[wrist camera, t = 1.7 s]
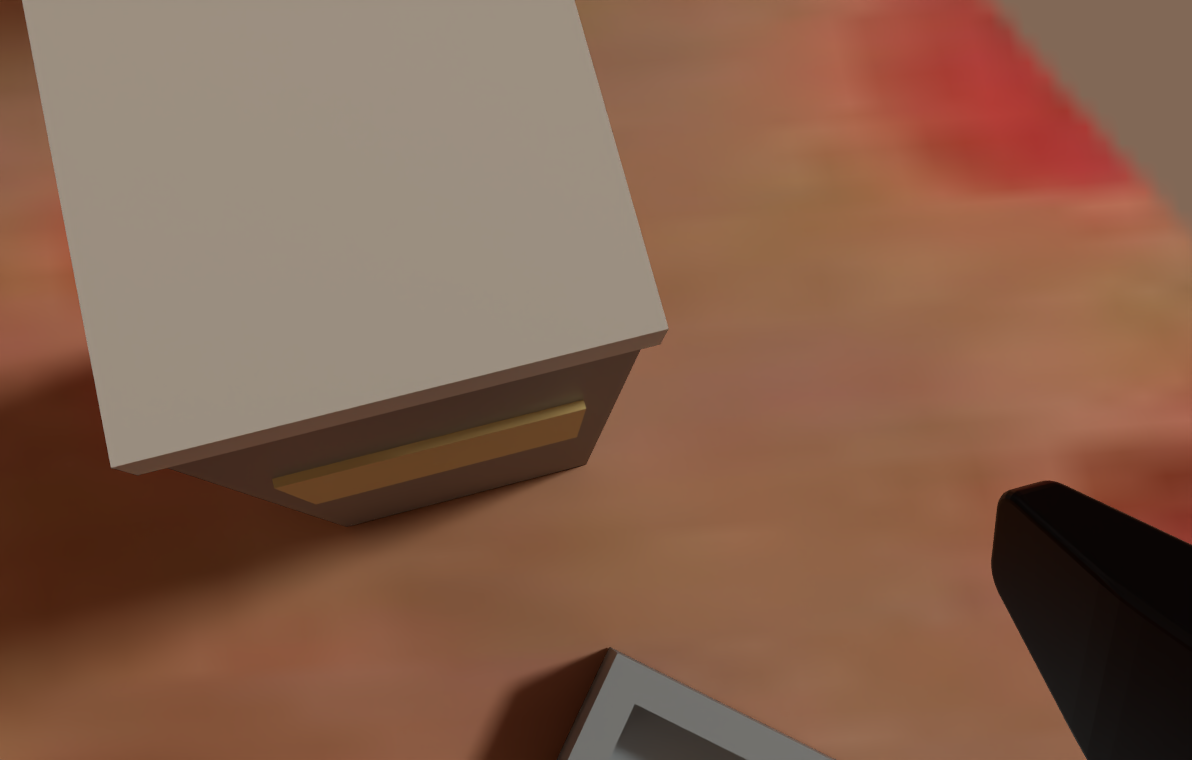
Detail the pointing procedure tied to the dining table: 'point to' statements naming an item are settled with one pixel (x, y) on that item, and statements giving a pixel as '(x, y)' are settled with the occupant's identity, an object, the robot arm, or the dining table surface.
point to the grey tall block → (344, 241)
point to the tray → (667, 722)
